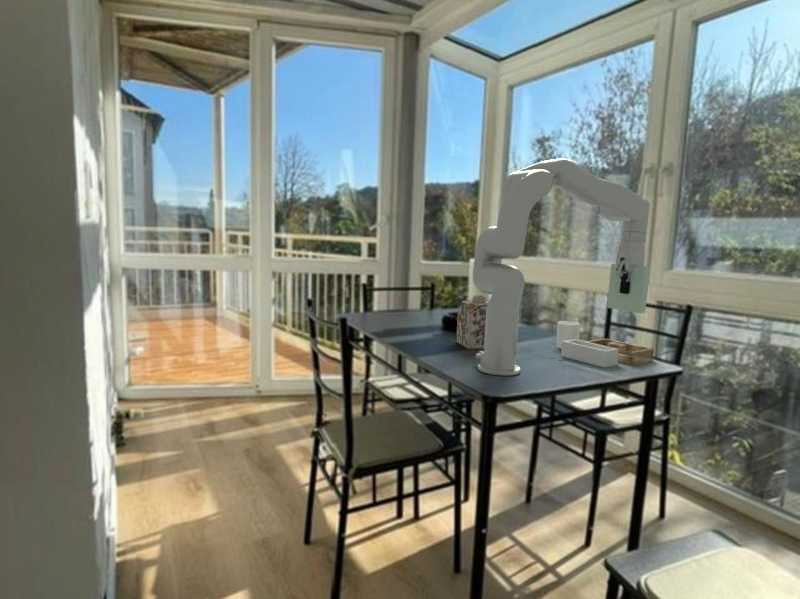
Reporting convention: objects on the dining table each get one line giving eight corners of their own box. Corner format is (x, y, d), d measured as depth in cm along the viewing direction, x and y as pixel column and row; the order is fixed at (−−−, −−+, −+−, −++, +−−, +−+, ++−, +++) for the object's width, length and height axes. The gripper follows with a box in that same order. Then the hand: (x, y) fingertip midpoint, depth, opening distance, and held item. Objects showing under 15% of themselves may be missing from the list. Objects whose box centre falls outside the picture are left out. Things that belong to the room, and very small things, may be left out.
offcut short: (606, 348, 179) (607, 342, 179) (612, 347, 181) (612, 341, 180) (620, 351, 175) (621, 345, 175) (625, 350, 177) (626, 344, 176)
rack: (582, 355, 182) (583, 341, 182) (603, 352, 189) (604, 338, 189) (632, 368, 168) (633, 352, 167) (652, 363, 175) (653, 348, 174)
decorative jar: (485, 341, 200) (487, 293, 197) (498, 348, 188) (501, 298, 186) (455, 342, 196) (457, 293, 194) (467, 349, 185) (469, 298, 183)
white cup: (583, 352, 187) (585, 324, 186) (563, 353, 185) (566, 325, 184) (569, 347, 195) (571, 320, 193) (550, 348, 192) (552, 321, 191)
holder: (560, 358, 177) (562, 341, 176) (573, 356, 181) (575, 339, 180) (604, 370, 164) (605, 351, 163) (617, 367, 168) (618, 348, 167)
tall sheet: (606, 307, 182) (611, 263, 180) (611, 307, 184) (616, 263, 182) (640, 313, 172) (645, 266, 170) (645, 312, 174) (650, 266, 172)
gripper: (636, 237, 183) (630, 291, 185) (608, 236, 173) (602, 292, 175) (657, 239, 177) (651, 294, 179) (630, 237, 167) (624, 295, 169)
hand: (627, 292), depth 177 cm, fingers closed on tall sheet, 3 cm apart
